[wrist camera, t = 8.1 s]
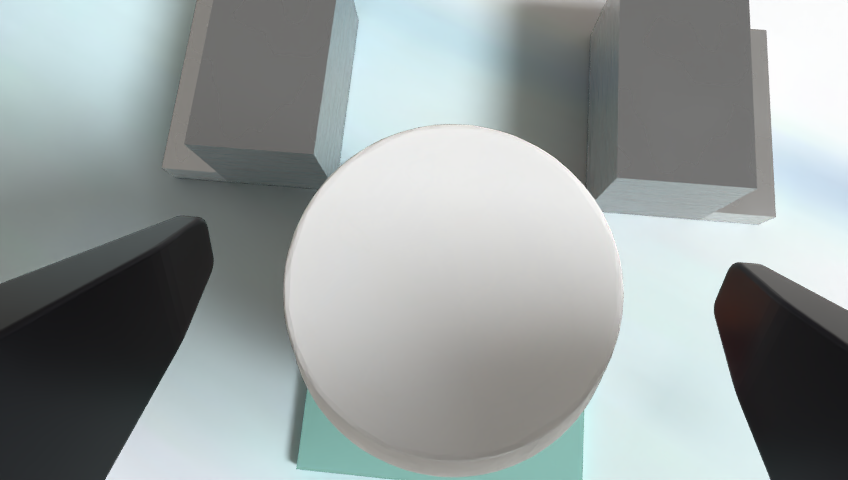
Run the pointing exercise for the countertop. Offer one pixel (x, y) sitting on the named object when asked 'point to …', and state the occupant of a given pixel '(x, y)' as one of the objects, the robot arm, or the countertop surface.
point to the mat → (332, 452)
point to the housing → (607, 110)
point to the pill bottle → (452, 299)
